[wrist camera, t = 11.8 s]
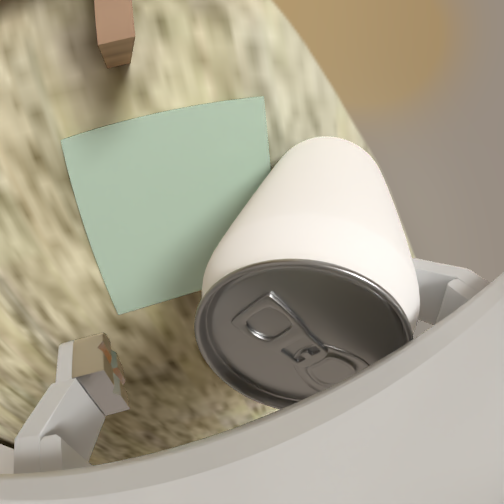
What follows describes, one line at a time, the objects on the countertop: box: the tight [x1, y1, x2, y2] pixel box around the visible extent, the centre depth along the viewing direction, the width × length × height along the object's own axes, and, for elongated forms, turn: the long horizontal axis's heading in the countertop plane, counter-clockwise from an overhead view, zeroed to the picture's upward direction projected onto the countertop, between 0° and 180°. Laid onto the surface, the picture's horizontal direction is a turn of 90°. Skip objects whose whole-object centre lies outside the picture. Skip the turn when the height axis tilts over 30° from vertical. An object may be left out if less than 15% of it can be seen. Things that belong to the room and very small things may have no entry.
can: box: [194, 136, 420, 409], centre depth 12 cm, size 6×6×12 cm
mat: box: [61, 96, 271, 315], centre depth 17 cm, size 11×11×1 cm
